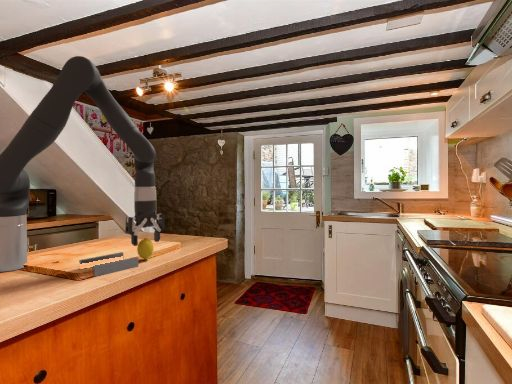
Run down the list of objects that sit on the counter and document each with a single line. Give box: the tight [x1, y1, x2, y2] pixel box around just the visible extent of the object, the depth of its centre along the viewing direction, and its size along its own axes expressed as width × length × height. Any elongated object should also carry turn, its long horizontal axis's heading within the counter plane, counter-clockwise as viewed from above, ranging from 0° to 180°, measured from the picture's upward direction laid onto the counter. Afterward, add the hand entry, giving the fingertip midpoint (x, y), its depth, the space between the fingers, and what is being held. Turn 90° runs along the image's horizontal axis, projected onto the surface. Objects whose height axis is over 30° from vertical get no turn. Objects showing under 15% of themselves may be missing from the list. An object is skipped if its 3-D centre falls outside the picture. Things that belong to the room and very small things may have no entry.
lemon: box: [136, 237, 154, 261], centre depth 106 cm, size 6×6×8 cm
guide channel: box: [78, 251, 139, 277], centre depth 96 cm, size 11×14×3 cm
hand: (146, 243), depth 106 cm, fingers open, 8 cm apart
